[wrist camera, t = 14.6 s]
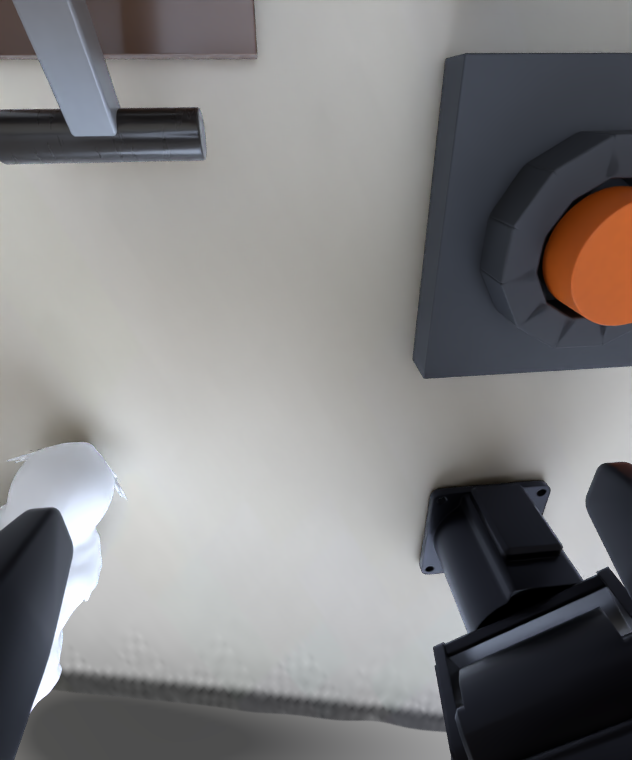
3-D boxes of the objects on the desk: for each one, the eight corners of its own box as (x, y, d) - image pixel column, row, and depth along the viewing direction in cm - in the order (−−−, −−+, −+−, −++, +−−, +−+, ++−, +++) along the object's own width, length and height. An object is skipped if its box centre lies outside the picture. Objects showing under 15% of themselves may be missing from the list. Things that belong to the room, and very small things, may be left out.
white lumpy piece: (-177, 767, 16) (-98, 525, 13) (-45, 572, 24) (28, 385, 20) (16, 786, 18) (132, 584, 15) (81, 602, 26) (168, 438, 22)
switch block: (624, 347, 21) (683, 387, 18) (412, 359, 20) (437, 403, 17) (731, 57, 16) (843, 45, 13) (445, 58, 15) (491, 46, 12)
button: (636, 303, 17) (673, 323, 15) (529, 309, 16) (556, 329, 15) (679, 183, 15) (727, 192, 13) (558, 187, 14) (593, 196, 13)
